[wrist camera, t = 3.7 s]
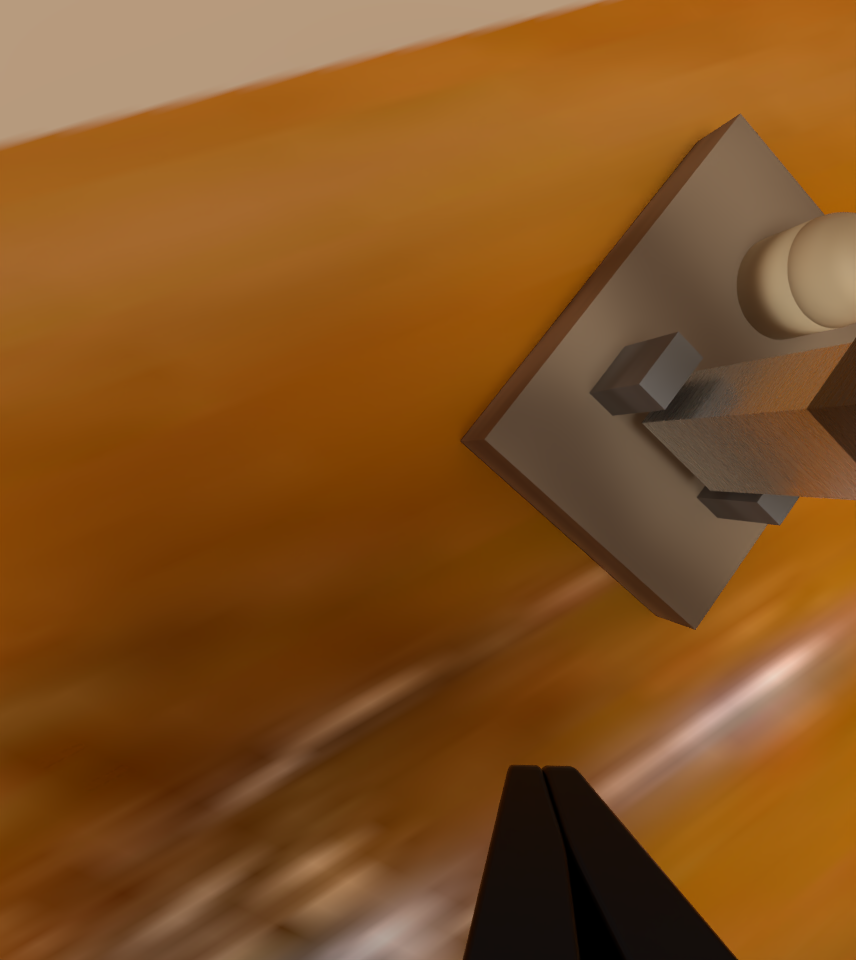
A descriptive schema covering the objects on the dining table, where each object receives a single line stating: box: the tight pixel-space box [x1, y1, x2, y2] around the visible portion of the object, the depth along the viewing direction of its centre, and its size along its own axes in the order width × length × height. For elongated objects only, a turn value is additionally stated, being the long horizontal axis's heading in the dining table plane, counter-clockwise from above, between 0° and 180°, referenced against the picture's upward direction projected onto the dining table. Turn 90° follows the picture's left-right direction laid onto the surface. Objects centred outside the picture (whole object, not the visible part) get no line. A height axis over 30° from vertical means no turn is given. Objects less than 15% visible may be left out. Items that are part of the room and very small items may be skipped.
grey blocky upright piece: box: [642, 338, 856, 500], centre depth 16 cm, size 2×3×9 cm, turn 50°
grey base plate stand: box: [461, 114, 856, 630], centre depth 21 cm, size 13×9×4 cm
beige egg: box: [737, 212, 856, 340], centre depth 20 cm, size 3×3×4 cm
